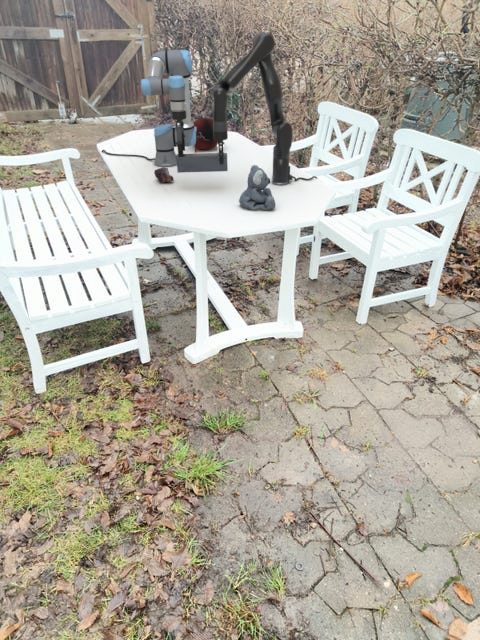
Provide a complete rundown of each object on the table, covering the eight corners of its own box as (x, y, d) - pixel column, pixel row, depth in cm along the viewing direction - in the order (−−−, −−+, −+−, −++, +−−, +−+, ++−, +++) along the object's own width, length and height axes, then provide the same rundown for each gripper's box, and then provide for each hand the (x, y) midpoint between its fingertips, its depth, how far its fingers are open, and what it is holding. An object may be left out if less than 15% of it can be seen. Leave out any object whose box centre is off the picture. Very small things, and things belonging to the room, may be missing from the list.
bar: (177, 172, 243) (176, 156, 238) (178, 170, 247) (176, 154, 242) (227, 171, 244) (227, 154, 239) (227, 168, 248) (226, 152, 243)
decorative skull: (188, 123, 330) (185, 120, 306) (219, 116, 329) (218, 112, 306) (194, 153, 337) (192, 152, 313) (225, 146, 336) (225, 145, 313)
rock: (168, 180, 269) (152, 182, 265) (166, 165, 265) (150, 167, 261) (175, 182, 260) (159, 184, 256) (174, 166, 256) (157, 168, 252)
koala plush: (276, 211, 223) (277, 171, 212) (240, 212, 222) (240, 172, 211) (271, 199, 237) (272, 161, 226) (237, 200, 236) (237, 162, 225)
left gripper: (184, 114, 218) (187, 159, 230) (187, 106, 238) (190, 147, 250) (168, 115, 217) (172, 159, 229) (173, 106, 238) (176, 148, 250)
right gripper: (227, 132, 228) (228, 166, 238) (227, 126, 240) (228, 159, 250) (212, 132, 228) (214, 167, 238) (213, 126, 240) (214, 159, 249)
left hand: (181, 153), depth 240 cm, fingers open, 13 cm apart
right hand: (221, 162), depth 244 cm, fingers closed on bar, 4 cm apart
